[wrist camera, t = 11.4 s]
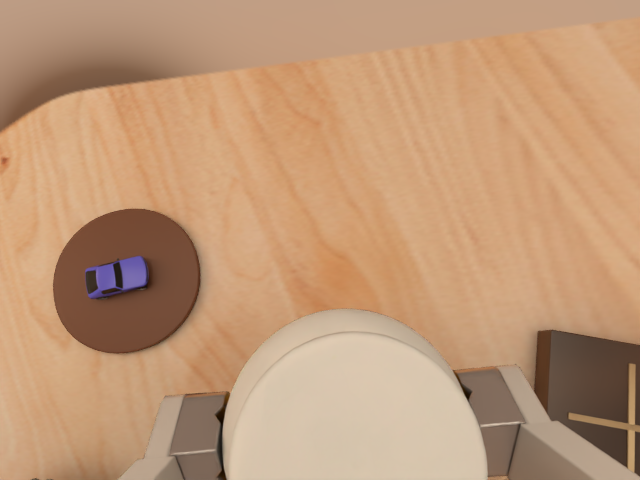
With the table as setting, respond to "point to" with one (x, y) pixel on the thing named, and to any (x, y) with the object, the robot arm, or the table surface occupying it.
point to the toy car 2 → (126, 281)
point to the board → (592, 390)
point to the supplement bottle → (350, 406)
